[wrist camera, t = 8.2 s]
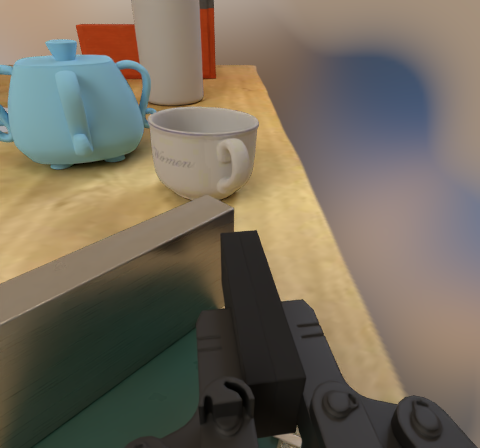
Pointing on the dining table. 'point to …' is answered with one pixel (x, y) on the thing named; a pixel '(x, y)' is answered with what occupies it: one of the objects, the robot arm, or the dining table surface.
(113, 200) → the dining table surface
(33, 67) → the decorative pot
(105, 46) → the clamp
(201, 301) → the red-tipped metal bar
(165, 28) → the cylinder vase
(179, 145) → the teacup
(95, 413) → the green block
